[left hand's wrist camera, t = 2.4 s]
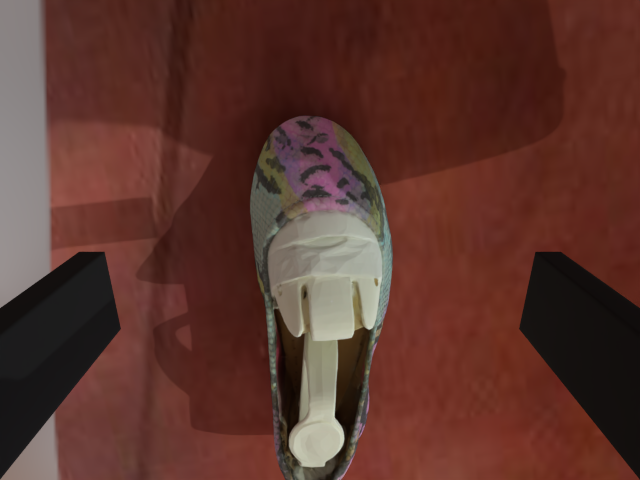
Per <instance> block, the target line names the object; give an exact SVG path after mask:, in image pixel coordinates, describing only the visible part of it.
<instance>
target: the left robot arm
mask: <svg viewBox="0 0 640 480" xmlns="http://www.w3.org/2000/svg"><path fill="white" fill-rule="evenodd" d="M120 329H121V328H120V323H119V318H118V314H117V309H116V304H115V299H114V295H113V290H112V285H111V280H110V276H109V271H108V266H107V262H106V257H105V252H78V253H77V254H76V255H74V256H73V257H71V258H70V259H69V260H67V261H66V262H64V263H63V264H62V265H60V266H59V267H57V268H56V269H55V270H53V271H52V272H50V273H49V274H48V275H46V276H45V277H43V278H42V279H41V280H39V281H38V282H36V283H35V284H34V285H32V286H31V287H29V288H28V289H27V290H25V291H24V292H22V293H21V294H20V295H18V296H17V297H15V298H14V299H13V300H11V301H10V302H8V303H7V304H6V305H4V306H3V307H1V308H0V479H1V478H2V476H3V475H4V474H5V473H6V471H7V470H8V469H9V468H10V466H11V465H12V464H13V463H14V461H15V460H16V459H17V458H18V456H19V455H20V454H21V453H22V451H23V450H24V449H25V448H26V446H27V445H28V444H29V443H30V441H31V440H32V439H33V438H34V436H35V435H36V434H37V433H38V431H39V430H40V429H41V428H42V426H43V425H44V424H45V423H46V421H47V420H48V419H49V418H50V417H51V415H52V414H53V413H54V412H55V410H56V409H57V408H58V407H59V405H60V404H61V403H62V402H63V400H64V399H65V398H66V397H67V395H68V394H69V393H70V392H71V390H72V389H73V388H74V387H75V385H76V384H77V383H78V382H79V380H80V379H81V378H82V377H83V375H84V374H85V373H86V372H87V370H88V369H89V368H90V367H91V365H92V364H93V363H94V362H95V360H96V359H97V358H98V357H99V355H100V354H101V353H102V352H103V350H104V349H105V348H106V347H107V345H108V344H109V343H110V342H111V340H112V339H113V338H114V337H115V335H116V334H117V333H118V332H119V330H120ZM519 329H520V330H521V332H522V333H523V334H524V335H525V337H526V338H527V339H528V340H529V342H530V343H531V344H532V345H533V347H534V348H535V349H536V350H537V352H538V353H539V354H540V355H541V357H542V358H543V359H544V360H545V362H546V363H547V364H548V365H549V367H550V368H551V369H552V370H553V372H554V373H555V374H556V375H557V377H558V378H559V379H560V380H561V382H562V383H563V384H564V385H565V387H566V388H567V389H568V390H569V392H570V393H571V394H572V395H573V397H574V398H575V399H576V400H577V402H578V403H579V404H580V405H581V407H582V408H583V409H584V410H585V412H586V413H587V414H588V415H589V417H590V418H591V419H592V420H593V422H594V423H595V424H596V425H597V426H598V428H599V429H600V430H601V431H602V433H603V434H604V435H605V436H606V438H607V439H608V440H609V441H610V443H611V444H612V445H613V446H614V448H615V449H616V450H617V451H618V453H619V454H620V455H621V456H622V458H623V459H624V460H625V461H626V463H627V464H628V465H629V466H630V468H631V469H632V470H633V471H634V473H635V474H636V475H637V476H638V478H639V479H640V308H639V307H637V306H636V305H635V304H633V303H632V302H630V301H629V300H628V299H626V298H625V297H623V296H622V295H620V294H619V293H618V292H616V291H615V290H613V289H612V288H611V287H609V286H608V285H606V284H605V283H604V282H602V281H601V280H599V279H598V278H597V277H595V276H594V275H592V274H591V273H590V272H588V271H587V270H585V269H584V268H583V267H581V266H580V265H578V264H577V263H576V262H574V261H573V260H571V259H570V258H569V257H567V256H566V255H564V254H563V253H562V252H535V257H534V262H533V266H532V271H531V276H530V280H529V285H528V290H527V295H526V299H525V304H524V309H523V313H522V318H521V323H520V328H519Z"/></svg>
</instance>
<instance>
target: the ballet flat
mask: <svg viewBox="0 0 640 480" xmlns="http://www.w3.org/2000/svg"><path fill="white" fill-rule="evenodd" d="M250 214H251V224H252V233H253V242H254V253H255V265H256V270H257V277H258V283H259V286H260V290H261V293H262V296H263V298H264V303H265V308H266V319H267V330H268V345H269V359H270V378H271V393H272V405H273V424H274V441H275V450H276V455H277V460H278V463H279V467H280V469H281V471H282V473H283V475H284V478H285V480H341V479H342V477H343V476H344V475H345V473H346V471H347V469H348V468H349V466H350V464H351V461H352V459H353V457H354V454H355V451H356V448H357V444H358V440H359V438H360V436H361V434H362V432H363V430H364V427H365V424H366V420H367V413H368V408H369V387H368V378H369V372H370V366H371V360H372V355H373V352H374V350H375V347H376V344H377V342H378V339H379V336H380V333H381V329H382V325H383V320H384V317H385V313H386V309H387V305H388V299H389V292H390V284H391V273H392V258H393V256H392V241H391V234H390V229H389V224H388V219H387V214H386V209H385V205H384V200H383V197H382V193H381V190H380V187H379V184H378V181H377V179H376V176H375V174H374V171H373V169H372V167H371V166H370V164H369V162H368V160H367V158H366V156H365V155H364V153H363V151H362V150H361V148H360V146H359V145H358V143H357V142H356V141H355V139H354V138H353V137H352V136H351V135H350V134H349V133H348V132H347V131H346V130H345V129H344V128H343V127H341V126H340V125H338V124H336V123H335V122H333V121H331V120H328V119H326V118H323V117H319V116H298V117H295V118H292V119H289V120H288V121H286V122H284V123H282V124H281V125H280V126H278V127H277V128H276V129H275V130H274V131H273V132H272V133H271V134H270V135H269V137H268V139H267V141H266V143H265V144H264V147H263V149H262V151H261V154H260V157H259V160H258V162H257V165H256V169H255V173H254V177H253V183H252V189H251V197H250Z"/></svg>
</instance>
